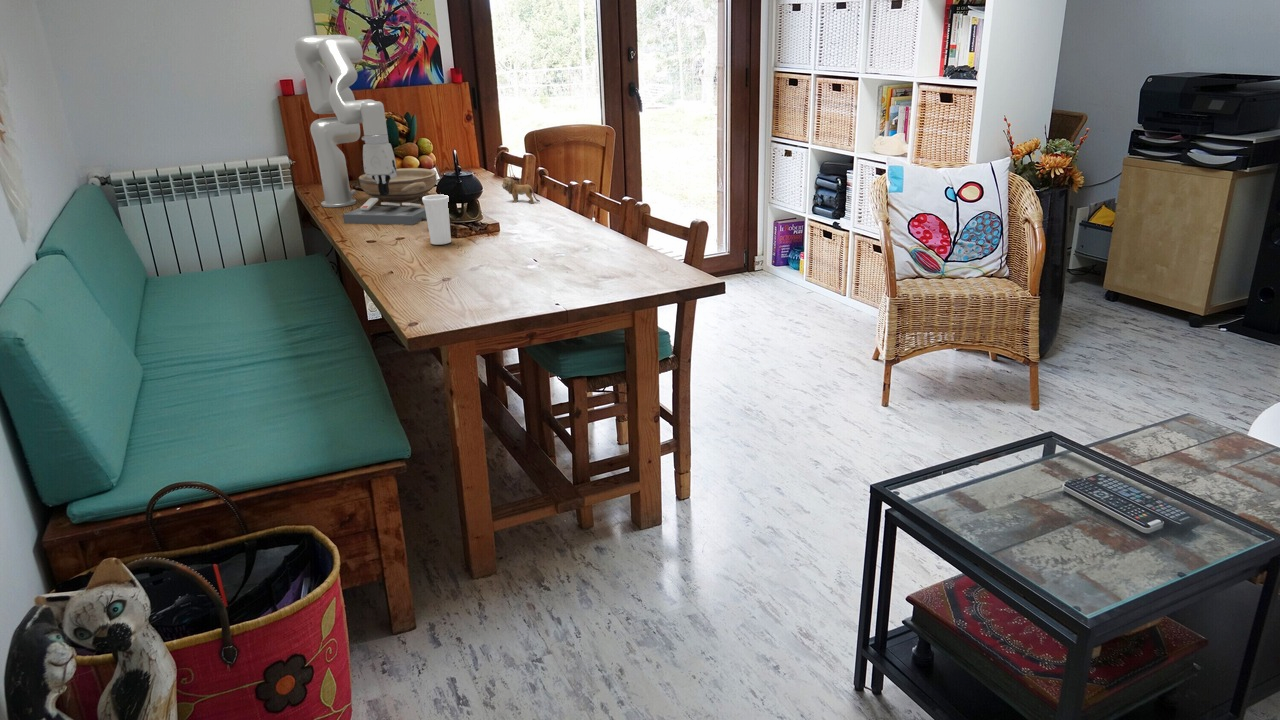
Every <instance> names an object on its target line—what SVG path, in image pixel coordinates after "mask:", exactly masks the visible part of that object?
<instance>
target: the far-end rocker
mask: <svg viewBox="0 0 1280 720" xmlns="http://www.w3.org/2000/svg"><path fill="white" fill-rule="evenodd" d="M378 201H379V199H378V198H375V197H369V198H368V199H367V201H366V202H364V204H363V205H361V206H360V207H359V208H360V209H361V210H369V209H370V208H371V207H372V206H374V205H375V204H376V203H377V202H378Z"/></svg>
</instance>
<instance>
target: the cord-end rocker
mask: <svg viewBox="0 0 1280 720" xmlns="http://www.w3.org/2000/svg"><path fill="white" fill-rule="evenodd" d="M401 206H404V207H422V204H421V203H415V202H412V203H402V204H401Z"/></svg>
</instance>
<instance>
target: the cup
mask: <svg viewBox="0 0 1280 720" xmlns="http://www.w3.org/2000/svg"><path fill="white" fill-rule="evenodd" d="M421 200H422V203H423V205H424V207H425V211H426V217H427V221H426V222H427V228H428V234H429V241H430V244H431V245H438V246H439V245H446V244H450V243H451V242H452V237H451V236H452V235H451V225H450V223H451V221H450V214H449V208H448V202H449V196H448V195H444V194H441V193H440V194H429V195H425V196H422V198H421Z"/></svg>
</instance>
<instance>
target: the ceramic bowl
mask: <svg viewBox="0 0 1280 720" xmlns="http://www.w3.org/2000/svg"><path fill="white" fill-rule="evenodd" d="M396 174H397V177H394V178H391V179H390V181H389V182H388V186H389V194H388V195H385V196H383V195H382V196H380V192H379V189H378V184H377V183H376V181H375V180H374V179H373V178H369V177H367V174H365V173H364V174H361V175H359V177H358V181H359V185H360V187H361V189H362V190H363V191H364V193H365V194H366V195H369V196H370V197H371V198H378V200H381V201H382V202H390V203H398V204H400V205H402V203H415V202H418V201H419V200H420V198H419V197H423V195H425V194H427V193H429V192H430V191H431V190H433V189H434V187H435V185H436V183H437V171H436V170H434V169H431V168H430V169H429V168H421V167H417V168H416V167H415V168H414V167H411V168H410V167H409V168H396ZM389 175H391V174H389Z"/></svg>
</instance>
